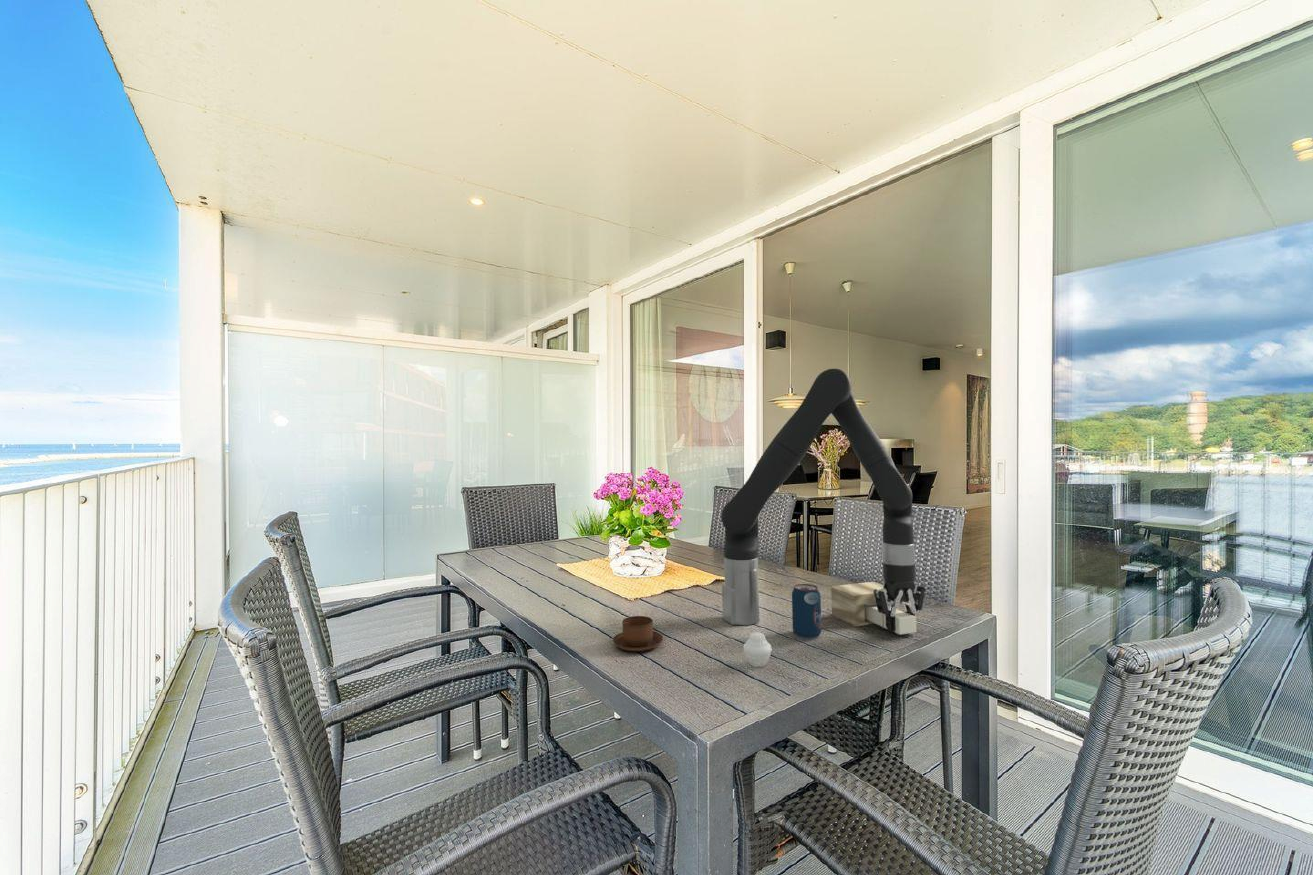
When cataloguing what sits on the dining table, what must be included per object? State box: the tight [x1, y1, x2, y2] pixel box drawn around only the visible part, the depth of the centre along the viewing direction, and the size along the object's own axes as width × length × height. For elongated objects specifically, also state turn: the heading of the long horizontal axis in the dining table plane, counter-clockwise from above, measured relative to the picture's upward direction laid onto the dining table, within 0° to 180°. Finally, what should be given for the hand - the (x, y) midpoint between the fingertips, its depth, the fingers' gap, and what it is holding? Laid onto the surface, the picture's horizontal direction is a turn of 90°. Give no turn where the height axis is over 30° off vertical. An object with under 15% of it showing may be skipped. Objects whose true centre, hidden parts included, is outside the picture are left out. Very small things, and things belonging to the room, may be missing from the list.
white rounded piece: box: [742, 631, 773, 668], centre depth 116 cm, size 6×6×7 cm
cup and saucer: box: [612, 615, 664, 652], centre depth 128 cm, size 12×12×6 cm
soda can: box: [791, 583, 822, 640], centre depth 133 cm, size 7×7×12 cm
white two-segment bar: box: [864, 605, 917, 635], centre depth 137 cm, size 5×14×4 cm, turn 17°
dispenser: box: [830, 581, 900, 627], centre depth 145 cm, size 14×11×8 cm
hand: (900, 628), depth 132 cm, fingers closed on white two-segment bar, 5 cm apart
